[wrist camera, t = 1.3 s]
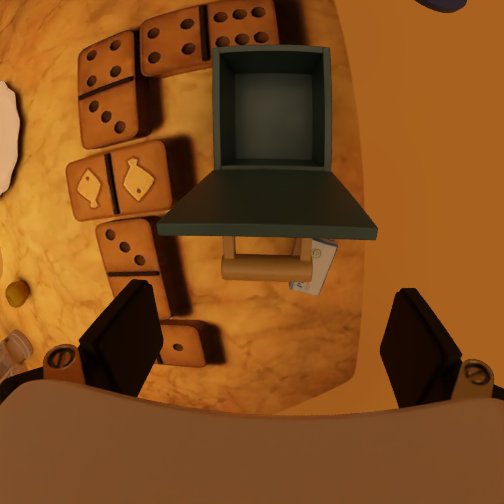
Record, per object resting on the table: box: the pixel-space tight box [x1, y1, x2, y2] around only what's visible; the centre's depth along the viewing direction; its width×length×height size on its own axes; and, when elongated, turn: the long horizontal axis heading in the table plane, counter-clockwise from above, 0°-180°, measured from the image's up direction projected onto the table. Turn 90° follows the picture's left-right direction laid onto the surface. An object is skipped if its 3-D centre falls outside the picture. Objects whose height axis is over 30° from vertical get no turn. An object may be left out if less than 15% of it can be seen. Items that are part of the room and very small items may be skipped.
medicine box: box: [289, 238, 338, 296], centre depth 41 cm, size 8×4×9 cm, turn 166°
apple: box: [5, 281, 29, 308], centre depth 52 cm, size 6×6×8 cm
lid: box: [157, 170, 378, 282], centre depth 23 cm, size 15×13×5 cm
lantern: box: [0, 330, 33, 384], centre depth 54 cm, size 13×10×25 cm
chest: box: [213, 45, 332, 172], centre depth 32 cm, size 15×13×12 cm
